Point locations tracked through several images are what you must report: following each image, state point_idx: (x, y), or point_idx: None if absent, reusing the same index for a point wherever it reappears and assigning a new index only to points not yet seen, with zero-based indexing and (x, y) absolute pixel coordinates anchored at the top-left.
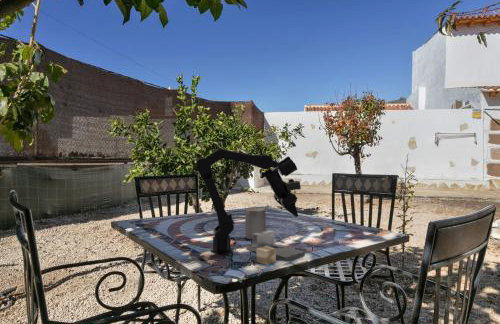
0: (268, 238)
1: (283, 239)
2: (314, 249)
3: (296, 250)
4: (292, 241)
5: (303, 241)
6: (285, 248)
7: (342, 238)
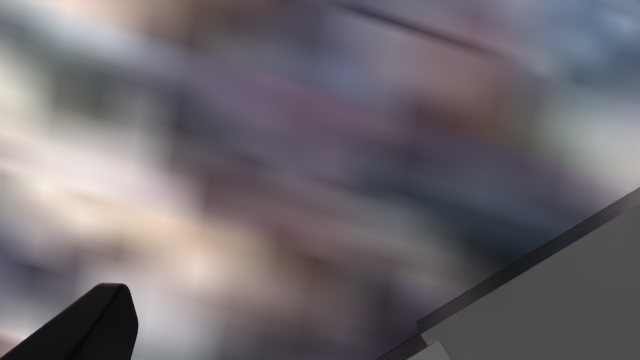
0: None
1: (8, 218)
2: (448, 16)
3: (603, 252)
4: (102, 148)
5: (118, 33)
6: (503, 340)
7: None
